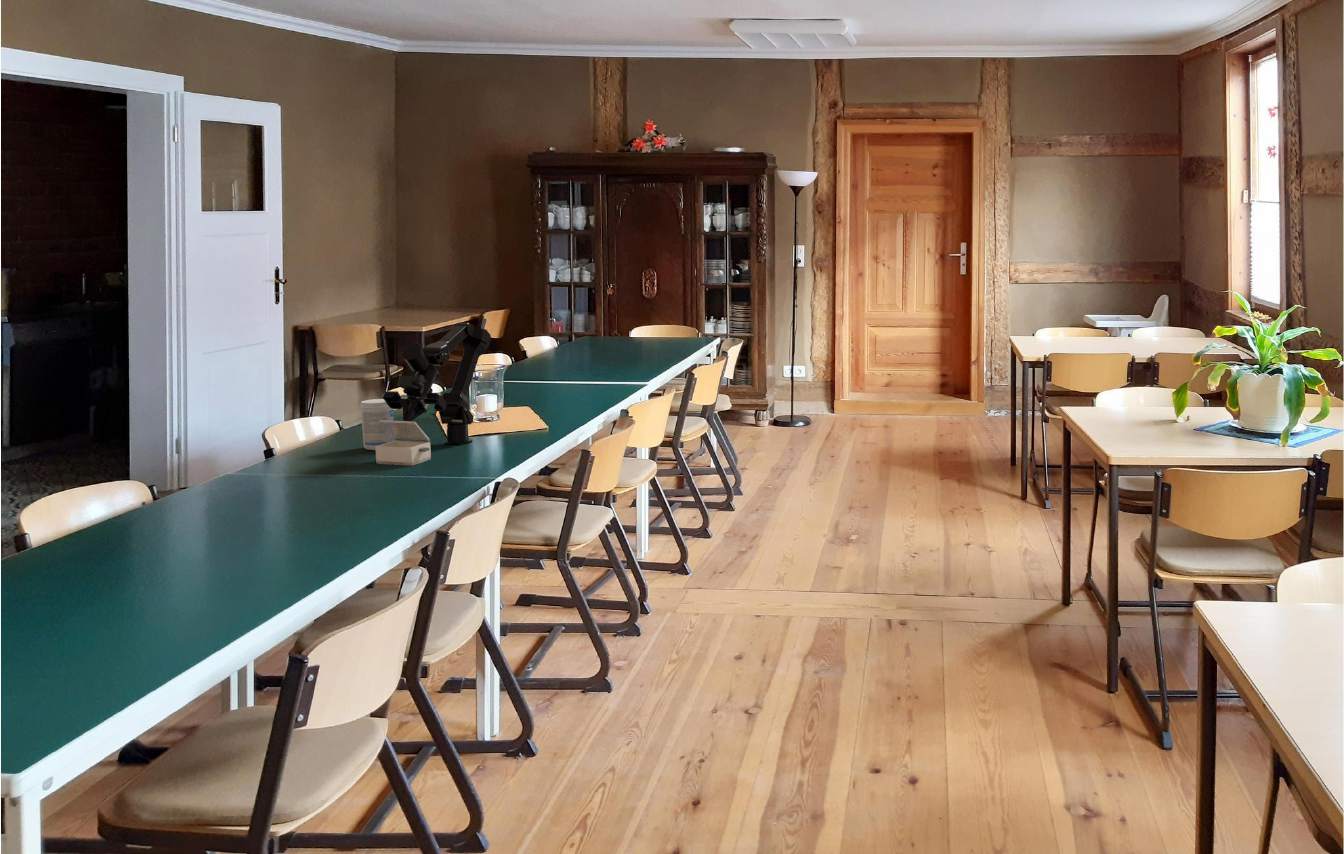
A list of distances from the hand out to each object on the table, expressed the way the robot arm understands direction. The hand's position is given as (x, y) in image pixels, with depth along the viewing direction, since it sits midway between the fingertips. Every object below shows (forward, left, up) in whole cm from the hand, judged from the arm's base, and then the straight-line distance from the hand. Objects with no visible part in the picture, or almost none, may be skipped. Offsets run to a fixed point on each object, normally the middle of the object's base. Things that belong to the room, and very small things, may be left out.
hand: (404, 424), depth 362 cm
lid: (0, 0, -2) cm, 2 cm away
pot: (+2, 0, -11) cm, 11 cm away
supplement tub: (-11, -22, -11) cm, 27 cm away
